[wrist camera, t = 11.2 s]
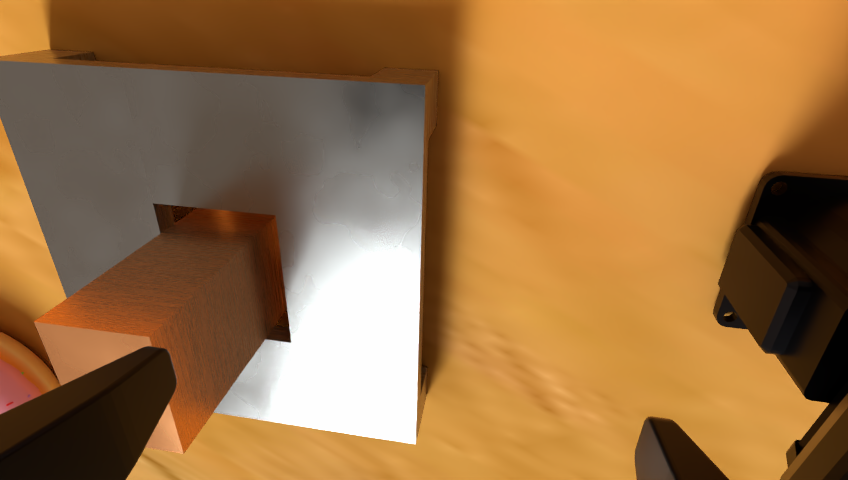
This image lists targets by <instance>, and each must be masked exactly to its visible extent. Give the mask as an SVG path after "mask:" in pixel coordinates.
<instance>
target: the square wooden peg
mask: <svg viewBox="0 0 848 480" xmlns="http://www.w3.org/2000/svg"><path fill="white" fill-rule="evenodd" d="M286 310H287V303H286V295H285V287H284V279H283V271H282V263H281V255H280V246H279V238H278V230H277V222H276V215H267V214H257V213H246V212H236V211H226V210H216V209H206V208H196V209H195V210H194V211H192V212H191V213H189V214H188V215H186V216H185V217H184V218H182V219H181V220H179V221H178V222H176V223H175V224H173V225H172V226H171V227H169V228H168V229H166V230H165V231H163V232H162V233H161V234H159V235H158V236H156V237H155V238H153V239H152V240H151V241H149V242H148V243H146V244H145V245H143V246H142V247H140V248H139V249H138V250H136V251H135V252H133V253H132V254H130V255H129V256H128V257H126V258H125V259H123V260H122V261H120V262H119V263H118V264H116V265H115V266H113V267H112V268H110V269H109V270H107V271H106V272H105V273H103V274H102V275H100V276H99V277H97V278H96V279H95V280H93V281H92V282H90V283H89V284H87V285H86V286H84V287H83V288H82V289H80V290H79V291H77V292H76V293H74V294H73V295H72V296H70V297H69V298H67V299H66V300H64V301H63V302H62V303H60V304H59V305H57V306H56V307H54V308H53V309H51V310H50V311H49V312H47V313H46V314H44V315H43V316H41V317H40V318H39V319H37V320H36V321H34V324H35V326H36V328H37V331H38V333H39V335H40V338H41V340H42V342H43V345H44V347H45V349H46V352H47V354H48V357H49V359H50V361H51V364H52V366H53V368H54V371H55V373H56V375H57V378H58V380H59V382H60V385H64V384H66V383H68V382H70V381H72V380H74V379H76V378H78V377H81V376H83V375H85V374H87V373H89V372H91V371H93V370H96V369H98V368H100V367H102V366H104V365H106V364H108V363H110V362H113V361H115V360H117V359H119V358H121V357H123V356H125V355H128V354H130V353H132V352H134V351H136V350H138V349H140V348H143V347H146V346H152V347H159V348H165V349H167V350H168V352H169V353H170V356H171V360H172V363H173V367H174V371H175V374H176V378H177V385H176V389H175V392H174V394H173V396H172V398H171V400H170V402H169V404H168V405H167V407H166V409H165V411H164V413H163V415H162V417H161V419H160V420H159V422H158V424H157V426H156V428H155V430H154V432H153V433H152V435H151V437H150V439H149V441H148V443H147V445H146V447H147V448H153V449H159V450H165V451H171V452H177V453H183V454H184V453H185V451H186V450H187V448H188V447H189V446H190V444H191V443H192V441H193V440H194V439H195V437H196V436H197V434H198V433H199V432H200V430H201V429H202V427H203V426H204V425H205V423H206V422H207V420H208V419H209V418H210V416H211V415H212V413H213V412H214V411H215V409H216V408H217V406H218V405H219V404H220V402H221V401H222V399H223V398H224V397H225V395H226V394H227V392H228V391H229V390H230V388H231V387H232V385H233V384H234V383H235V381H236V380H237V378H238V377H239V376H240V374H241V373H242V371H243V370H244V368H245V367H246V366H247V364H248V363H249V361H250V360H251V359H252V357H253V356H254V354H255V353H256V352H257V350H258V349H259V347H260V346H261V345H262V343H263V342H264V340H265V339H266V338H267V336H268V335H269V333H270V332H271V331H272V329H273V328H274V326H275V325H276V324H277V322H278V321H279V319H280V318H281V317H282V315H283V314H284V312H285V311H286Z"/></svg>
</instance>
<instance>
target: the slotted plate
mask: <svg viewBox="0 0 848 480" xmlns="http://www.w3.org/2000/svg"><path fill="white" fill-rule="evenodd" d="M438 75H439V70H420V69H402V68H384V69H382V70H380V71H379V72H377V73H376V74H374V75H372V76H355V75H337V74H319V73H301V72H284V71H266V70H248V69H230V68H213V67H195V66H177V65H160V64H142V63H124V62H106V61H96V60H95V56H94V53H93V52H85V51H66V50H43V51H35V52H28V53H21V54H14V55H7V56H0V118H1V120H2V123H3V126H4V128H5V131H6V134H7V137H8V139H9V142H10V145H11V147H12V150H13V153H14V156H15V158H16V161H17V164H18V166H19V169H20V172H21V175H22V177H23V180H24V183H25V186H26V188H27V191H28V194H29V196H30V199H31V202H32V205H33V207H34V210H35V213H36V215H37V218H38V221H39V224H40V226H41V229H42V232H43V234H44V237H45V240H46V243H47V245H48V248H49V251H50V253H51V256H52V259H53V262H54V264H55V267H56V270H57V272H58V275H59V278H60V281H61V283H62V286H63V289H64V291H65V294H66V297H67V298H69V297H70V296H72V295H73V294H74V293H76V292H77V291H79V290H80V289H82V288H83V287H84V286H86V285H87V284H89V283H90V282H92V281H93V280H95V279H96V278H97V277H99V276H100V275H102V274H103V273H105V272H106V271H107V270H109V269H110V268H112V267H113V266H115V265H116V264H118V263H119V262H120V261H122V260H123V259H125V258H126V257H128V256H129V255H130V254H132V253H133V252H135V251H136V250H138V249H139V248H140V247H142V246H143V245H145V244H146V243H148V242H149V241H151V240H152V239H153V238H155V237H156V236H158V235H159V234H161V233H162V232H163V231H165V230H166V229H168V228H169V227H171V226H172V225H173V224H175V218H174V214H173V209H172V205H175V206H185V207H195V208H206V209H216V210H226V211H236V212H246V213H257V214H267V215H276V222H277V230H278V238H279V246H280V255H281V263H282V271H283V279H284V287H285V295H286V303H287V311H288V319H289V327H283V326H274V328H273V329H272V331H271V332H270V333H269V335H268V336H267V338H266V339H265V340H264V342H263V343H262V345H261V346H260V347H259V349H258V350H257V352H256V353H255V354H254V356H253V357H252V359H251V360H250V361H249V363H248V364H247V366H246V367H245V368H244V370H243V371H242V373H241V374H240V376H239V377H238V378H237V380H236V381H235V383H234V384H233V385H232V387H231V388H230V390H229V391H228V392H227V394H226V395H225V397H224V398H223V399H222V401H221V402H220V404H219V405H218V406H217V408H216V409H215V411H214V413H220V414H226V415H233V416H239V417H246V418H252V419H258V420H265V421H271V422H277V423H284V424H290V425H297V426H303V427H309V428H316V429H322V430H328V431H335V432H341V433H348V434H354V435H360V436H367V437H373V438H379V439H386V440H392V441H399V442H405V443H411V444H416V441H417V436H418V432H419V427H420V423H421V418H422V414H423V409H424V404H425V400H426V390H427V366H421V362H422V330H423V297H424V265H425V232H426V200H427V168H428V139H429V138H430V136H431V134H432V132H433V131H434V129H435V127H436V125H437V101H438Z"/></svg>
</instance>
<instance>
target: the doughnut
mask: <svg viewBox="0 0 848 480" xmlns="http://www.w3.org/2000/svg"><path fill="white" fill-rule="evenodd" d="M59 386H61V385H60V383H59V381H58V380H57V378H56V377H55V375H54V374H53V373H52V371H51V370H50V369H49V368H48V366H47V365H46V364H45V363H44V362H43V361H42V360H41V359H40V358H39V357H38V356H37V355H35V354H34V353H33V352H32V351H31V350H29V349H28V348H27V347H25V346H24V345H23V344H21V343H20V342H18V341H17V340H15V339H13V338H12V337H10V336H8V335H6V334H4V333H2V332H0V414H2V413H4V412H6V411H8V410H10V409H12V408H14V407H17V406H19V405H21V404H23V403H25V402H27V401H29V400H32V399H34V398H36V397H38V396H40V395H42V394H44V393H46V392H49V391H51V390H53V389H55V388H57V387H59Z"/></svg>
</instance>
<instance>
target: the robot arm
mask: <svg viewBox="0 0 848 480" xmlns="http://www.w3.org/2000/svg"><path fill="white" fill-rule="evenodd" d="M777 182H782V186H781V187H780V189H778V190H776V191H771V188H772V186H773V185H774V184H776V183H777ZM718 285H719V287H720V288H721V290H720V293H719V296H718V299H717V301H716V304H715V307H714V310H713V314H714V317H715V318H716V320H717V322H718V323H719V324H720V325H722V326H725V327H732V328H740V329H748V330H749V332H750V333H751V334H752V336H753V337H754V339H755V340H756V342H757V343H758V345H759V346H760V348H761V349H762V350H763V351H764V352H765V353H767V354H775V355H776V356H777V358H778V359H779V361H780V362H781V364H782V365H783V366H784V368H785V369H786V371H787V372H788V374H789V375H790V377H791V378H792V379H793V381H794V382H795V384H796V385H797V387H798V388H799V389H800V391H801V392H802V394H803V395H804V396H805V398H806V399H809V400H812V401H820V402H827V403H829V405H828V406H827V407H826V409H825V410H824V411H823V412H822V414H821V415H820V416H819V418H818V419H817V420H816V421H815V423H814V424H813V425H812V426H811V428H810V429H809V430H808V432H807V433H806V434H805V435H804V437H803V438H802V439H801V440H796V441H795V442H794V443H793V444H792V445H791V447H790V448H789V449H788V451H787V452H786V457H787V464H788V469H787V470H786V471H785V472H784V474H783V475H782V476H781V479H780V480H848V176H835V175H821V174H808V173H794V172H781V171H778V172H771V173H769V174H767V175H766V176H764V177H763V178H762V179H761V181H760V183H759V185H758V187H757V190H756V193H755V196H754V199H753V201H752V204H751V207H750V210H749V212H748V215H747V218H746V221H745V224H744V225H742V226H741V227H740V228H739V229H737V231H736V234H735V237H734V240H733V243H732V245H731V248H730V251H729V254H728V257H727V259H726V262H725V265H724V268H723V271H722V274H721V276H720V279H719V282H718ZM727 312H733V313H732V314H731V315H729V316H724V314H725V313H727ZM176 385H177V378H176V374H175V371H174V367H173V363H172V360H171V356H170V353H169V352H168V350H167V349H165V348H159V347H152V346H146V347H143V348H140V349H138V350H136V351H134V352H132V353H130V354H128V355H125V356H123V357H121V358H119V359H117V360H115V361H113V362H110V363H108V364H106V365H104V366H102V367H100V368H98V369H96V370H93V371H91V372H89V373H87V374H85V375H83V376H81V377H78V378H76V379H74V380H72V381H70V382H68V383H66V384H64V385H61V386H59V387H57V388H55V389H53V390H51V391H49V392H46V393H44V394H42V395H40V396H38V397H36V398H34V399H32V400H29V401H27V402H25V403H23V404H21V405H19V406H17V407H14V408H12V409H10V410H8V411H6V412H4V413H2V414H0V480H126V478H127V477H128V475H129V474H130V472H131V471H132V469H133V467H134V466H135V464H136V463H137V461H138V459H139V457H140V456H141V454H142V452H143V450H144V448H145V447H146V445H147V443H148V441H149V439H150V437H151V435H152V433H153V432H154V430H155V428H156V426H157V424H158V422H159V420H160V419H161V417H162V415H163V413H164V411H165V409H166V407H167V405H168V404H169V402H170V400H171V398H172V396H173V394H174V392H175V389H176ZM635 468H636V476H637V480H729V479H728V478H727V477H726V476H725V475H724V474H723V473H722V472H721V470H720V469H719V468H718V467H717V466H716V465H715V464H714V463H713V462H712V461H711V460H710V459H709V458H708V457H707V456H706V454H705V453H704V452H703V451H702V450H701V449H700V448H699V447H698V446H697V445H696V444H695V443H694V442H693V441H692V439H691V438H690V437H689V436H688V435H687V434H686V433H685V432H684V431H683V430H682V429H681V428H680V427H679V426H678V424H677V423H675V422H674V421H673V420H671V419H665V418H658V417H648V418H646V420H645V421H644V424H643V427H642V430H641V433H640V437H639V440H638V443H637V446H636V449H635Z"/></svg>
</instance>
